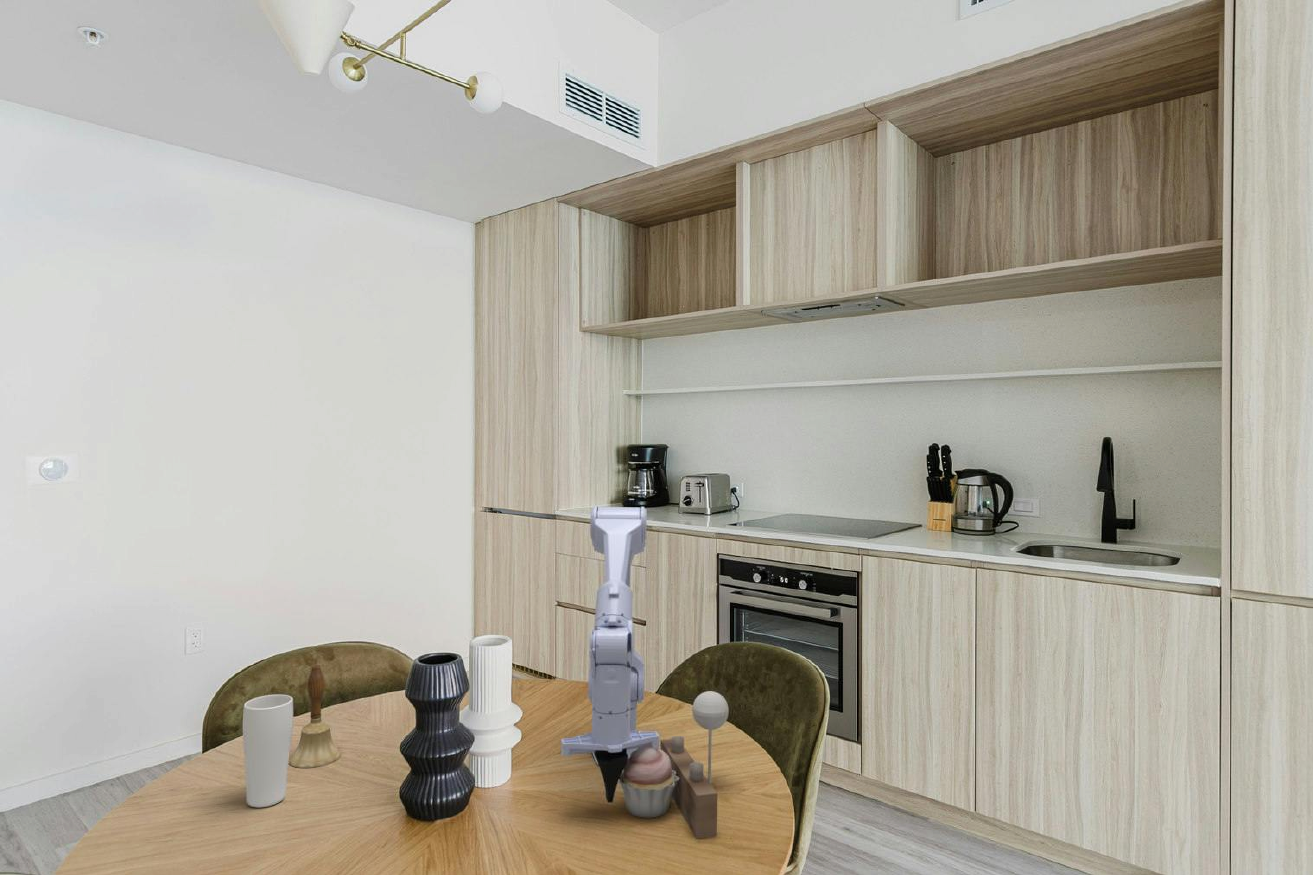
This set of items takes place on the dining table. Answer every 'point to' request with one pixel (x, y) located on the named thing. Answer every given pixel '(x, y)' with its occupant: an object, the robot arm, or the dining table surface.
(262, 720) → the drinking glass
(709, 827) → the bar
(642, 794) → the cupcake
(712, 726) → the lollipop
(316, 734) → the hand bell
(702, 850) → the dining table surface
